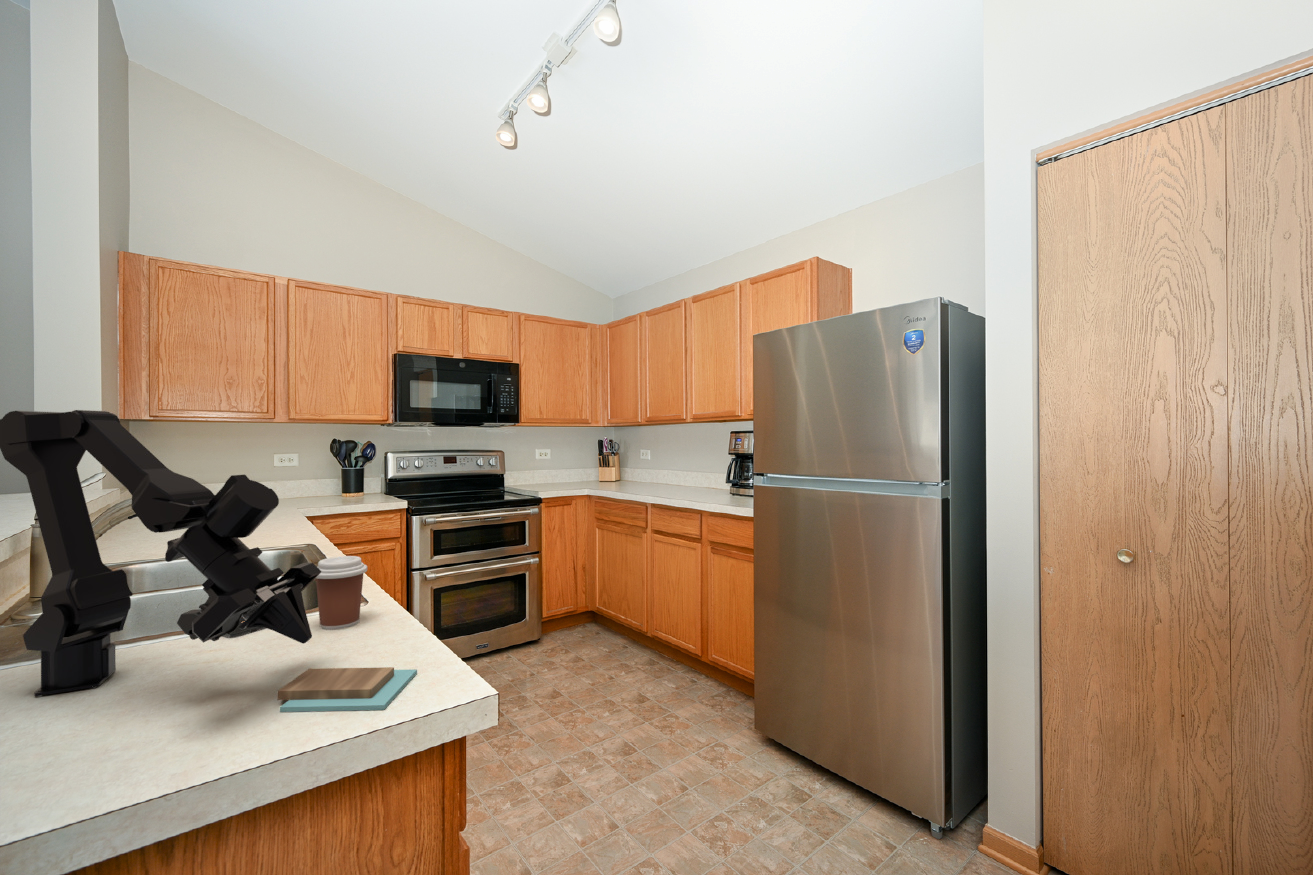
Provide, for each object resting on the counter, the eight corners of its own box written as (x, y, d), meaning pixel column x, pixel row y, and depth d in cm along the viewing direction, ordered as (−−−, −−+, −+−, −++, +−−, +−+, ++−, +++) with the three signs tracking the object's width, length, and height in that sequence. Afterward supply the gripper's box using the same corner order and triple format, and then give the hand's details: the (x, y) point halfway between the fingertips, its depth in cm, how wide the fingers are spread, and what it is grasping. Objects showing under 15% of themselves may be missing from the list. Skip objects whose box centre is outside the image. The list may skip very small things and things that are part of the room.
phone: (229, 610, 110) (277, 620, 104) (229, 616, 110) (277, 626, 104) (182, 622, 103) (230, 634, 97) (182, 628, 103) (230, 641, 97)
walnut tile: (277, 690, 73) (371, 689, 73) (308, 668, 80) (394, 667, 80) (277, 699, 73) (371, 698, 73) (308, 676, 80) (394, 675, 80)
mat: (279, 711, 71) (279, 707, 71) (327, 674, 82) (327, 670, 82) (384, 709, 72) (384, 705, 72) (417, 673, 83) (417, 669, 83)
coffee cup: (358, 630, 101) (358, 563, 101) (302, 633, 99) (302, 566, 99) (373, 614, 110) (373, 553, 110) (322, 617, 108) (322, 555, 108)
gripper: (231, 583, 85) (305, 655, 86) (118, 625, 66) (213, 716, 67) (284, 532, 85) (357, 603, 86) (187, 559, 67) (281, 650, 67)
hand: (308, 640), depth 76 cm, fingers closed
